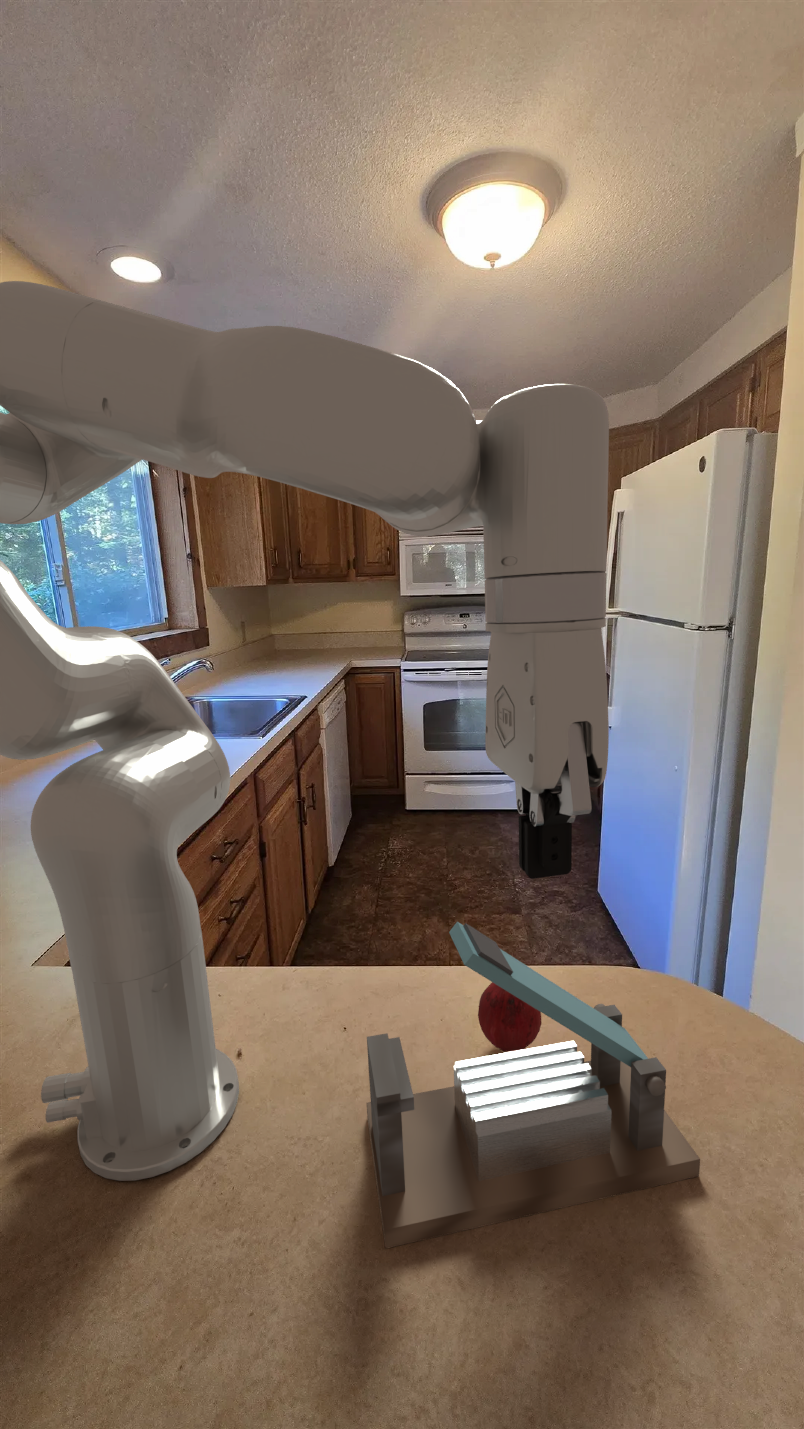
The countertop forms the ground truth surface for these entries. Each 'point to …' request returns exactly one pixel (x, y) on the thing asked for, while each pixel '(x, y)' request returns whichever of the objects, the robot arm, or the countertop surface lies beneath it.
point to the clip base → (449, 1197)
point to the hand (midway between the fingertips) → (545, 870)
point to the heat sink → (531, 1109)
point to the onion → (507, 1019)
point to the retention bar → (543, 994)
